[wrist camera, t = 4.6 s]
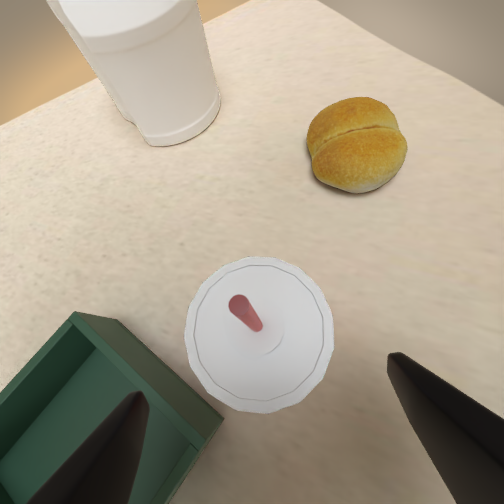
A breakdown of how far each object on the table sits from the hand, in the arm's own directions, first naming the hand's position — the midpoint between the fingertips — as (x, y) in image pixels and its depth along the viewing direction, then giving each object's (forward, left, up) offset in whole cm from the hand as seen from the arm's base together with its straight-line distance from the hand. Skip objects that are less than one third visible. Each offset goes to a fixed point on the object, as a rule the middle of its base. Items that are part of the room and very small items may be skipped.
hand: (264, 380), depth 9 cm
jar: (+15, +24, -10) cm, 30 cm away
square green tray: (-11, +6, -9) cm, 15 cm away
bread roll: (+19, +4, -10) cm, 22 cm away
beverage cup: (+1, +1, -10) cm, 10 cm away
